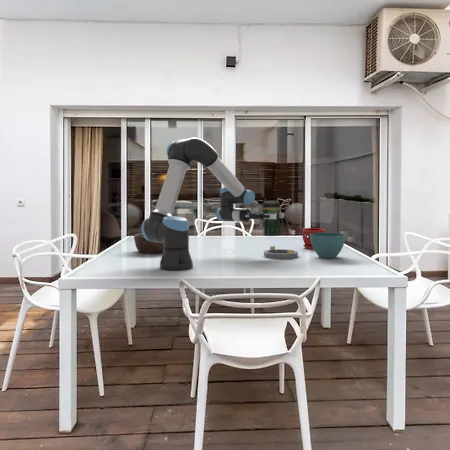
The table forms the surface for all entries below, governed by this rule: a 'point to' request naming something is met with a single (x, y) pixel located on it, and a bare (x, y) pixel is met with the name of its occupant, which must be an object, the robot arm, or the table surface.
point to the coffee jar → (271, 225)
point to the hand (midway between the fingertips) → (279, 215)
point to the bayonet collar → (280, 253)
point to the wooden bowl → (147, 245)
